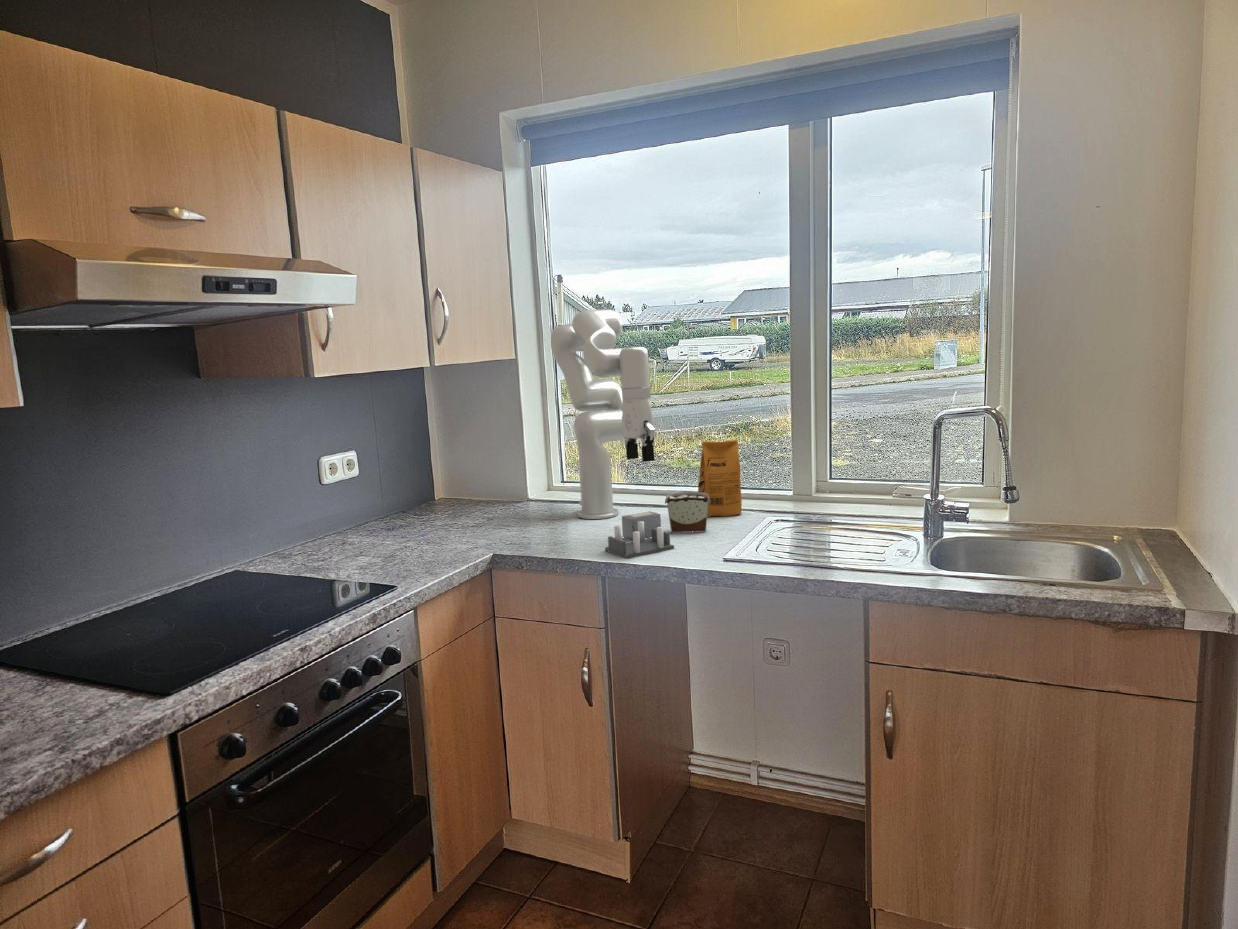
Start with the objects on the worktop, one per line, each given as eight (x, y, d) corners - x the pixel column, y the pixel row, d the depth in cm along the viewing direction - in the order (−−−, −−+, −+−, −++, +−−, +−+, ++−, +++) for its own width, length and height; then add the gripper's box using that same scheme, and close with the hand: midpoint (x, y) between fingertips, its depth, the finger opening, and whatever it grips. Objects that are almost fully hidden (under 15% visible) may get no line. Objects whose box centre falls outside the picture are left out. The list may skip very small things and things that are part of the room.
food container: (711, 526, 223) (710, 491, 222) (711, 531, 217) (710, 495, 216) (666, 527, 224) (665, 492, 223) (665, 532, 218) (664, 496, 217)
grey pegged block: (605, 550, 202) (603, 527, 202) (651, 541, 210) (650, 519, 209) (626, 558, 194) (625, 535, 193) (674, 548, 201) (673, 525, 200)
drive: (622, 538, 215) (621, 515, 214) (650, 532, 220) (650, 510, 219) (632, 541, 211) (631, 518, 210) (661, 536, 215) (660, 513, 214)
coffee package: (697, 511, 244) (695, 439, 241) (738, 509, 244) (736, 437, 241) (701, 518, 234) (698, 443, 231) (743, 516, 234) (742, 441, 231)
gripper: (610, 396, 217) (614, 459, 219) (637, 395, 202) (641, 463, 204) (635, 394, 220) (639, 456, 222) (664, 393, 205) (668, 460, 206)
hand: (640, 459), depth 213 cm, fingers open, 9 cm apart
